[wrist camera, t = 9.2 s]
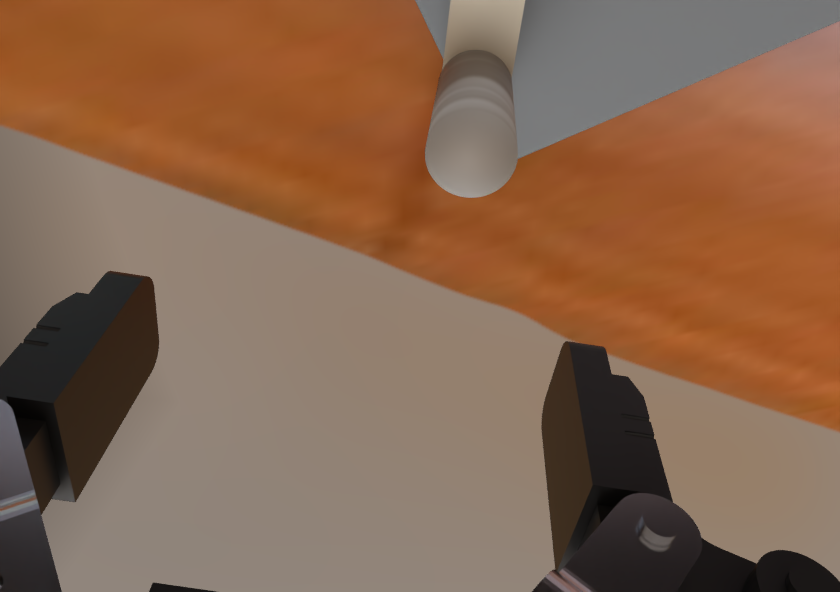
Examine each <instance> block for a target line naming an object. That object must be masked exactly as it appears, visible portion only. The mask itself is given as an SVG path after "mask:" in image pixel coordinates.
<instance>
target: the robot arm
mask: <svg viewBox="0 0 840 592" xmlns="http://www.w3.org/2000/svg"><path fill="white" fill-rule="evenodd" d="M158 349H159V334H158V324H157V314H156V303H155V293H154V285H153V281H152V279H151V278H150V277H147V276H140V275H133V274H127V273H120V272H113V271H109V272H107V273H106V274H105V275H104V276H103V277H102V278H101V280H100V281H99V282H98V283H97V284H96V286H95V287H94V288H93V289H92V291H91V292H90V293H89V294H84V293H75V294H73V295H71V296H70V297H68V298H66V299H65V300H63V301H61V302H59V303H58V304H56V305H54V306H52V307H51V308H50V310H49V311H48V312H47V313H46V314H45V316H44V317H43V318H42V319H41V320H40V321H39V322H38V324H37V327H36V328H33V329H32V331H31V332H30V333H29V334H28V335H27V336H26V337H25V339H24V343H20V344H19V346H18V347H17V348H16V349H15V350H14V351H13V352H12V354H11V355H10V356H9V357H8V358H7V360H6V361H5V362H4V363H3V364H2V365H1V366H0V592H62V591H61V587H60V583H59V579H58V575H57V572H56V568H55V565H54V561H53V557H52V553H51V549H50V546H49V542H48V538H47V535H46V531H45V527H44V523H43V520H42V516H41V515H42V513H43V511H44V510H45V508H46V507H47V505H48V503H49V502H50V500H51V499H55V500H63V501H69V502H76V500H77V499H78V497H79V495H80V494H81V492H82V490H83V488H84V487H85V485H86V483H87V481H88V480H89V478H90V476H91V475H92V473H93V471H94V470H95V468H96V466H97V465H98V463H99V461H100V459H101V458H102V456H103V454H104V453H105V451H106V449H107V447H108V446H109V444H110V442H111V441H112V439H113V437H114V435H115V434H116V432H117V430H118V429H119V427H120V425H121V423H122V421H123V420H124V418H125V417H126V415H127V413H128V411H129V409H130V408H131V406H132V405H133V403H134V401H135V399H136V398H137V396H138V394H139V393H140V391H141V389H142V387H143V386H144V384H145V382H146V381H147V379H148V377H149V376H150V374H151V372H152V370H153V368H154V366H155V363H156V359H157V355H158ZM542 439H543V448H544V459H545V469H546V478H547V490H548V500H549V510H550V520H551V530H552V540H553V551H554V561H555V570H552V571H551V572H549V573H548V574H547V575H546V576H545V577H544V578H543V579H542V581H541V582H540V583H539V584H538V585H537V586H536V588H535V589H534V590H533V591H532V592H840V582H839V581H838V579H837V578H836V577H835V576H834V575H833V574H832V573H830V571H828V570H827V569H826V568H825V567H823V566H822V565H820V564H819V563H817V562H816V561H814V560H812V559H810V558H808V557H807V556H804V555H802V554H799V553H795V552H792V551H785V550H776V551H771V552H769V553H767V554H765V555H764V556H763V557H761V559H760V560H759V562H758V563H757V564H756V563H754V562H752V561H749V560H747V559H744V558H742V557H740V556H737V555H735V554H733V553H730V552H728V551H725V550H723V549H720V548H718V547H716V546H714V545H712V544H710V543H709V542H707V541H706V540H704V539H703V538H701V535H700V531H699V529H698V527H697V525H696V524H695V522H694V521H693V519H692V518H691V517H690V516H689V515H688V514H687V513H686V512H685V511H684V510H683V509H682V508H680V507H679V506H678V505H676V504H675V503H673V501H672V497H671V493H670V490H669V487H668V483H667V479H666V476H665V473H664V468H663V465H662V461H661V458H660V454H659V450H658V447H657V443H656V440H655V439H654V432H653V429H652V425H651V422H649V414H648V411H647V407H646V403H645V400H644V397H643V395H642V394H641V393H640V392H639V391H638V389H637V388H636V386H635V385H634V384H633V383H632V381H631V380H630V379H629V378H628V377H626V376H619V375H613V374H611V370H610V365H609V361H608V357H607V352H606V349H605V348H604V347H601V346H595V345H588V344H581V343H575V342H568V341H566V342H565V343H564V344H563V346H562V348H561V351H560V354H559V357H558V360H557V364H556V367H555V370H554V373H553V376H552V379H551V382H550V385H549V389H548V392H547V395H546V398H545V402H544V406H543V413H542ZM149 592H215V591H208V590H201V589H194V588H187V587H180V586H173V585H166V584H159V583H153V584H152V586H151V588H150V591H149Z"/></svg>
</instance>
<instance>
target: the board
mask: <svg viewBox="0 0 840 592" xmlns="http://www.w3.org/2000/svg"><path fill="white" fill-rule="evenodd" d="M415 1H416V3H417V5H418V7H419V9H420V11H421V13H422V15H423V17H424V20H425V22H426V24H427V26H428V28H429V30H430V32H431V34H432V36H433V38H434V40H435V42H436V44H437V47H438V49H439V51H440V53H441V55H442V57H443V59H444V52H445V43H446V35H447V26H448V18H449V10H450V1H451V0H415ZM838 21H840V0H525V5H524V11H523V16H522V22H521V28H520V33H519V39H518V45H517V51H516V56H515V62H514V68H513V74H512V87H513V99H514V111H515V123H516V135H517V147H518V158H521V157H523V156H525V155H528V154H530V153H532V152H535V151H537V150H539V149H542V148H544V147H546V146H549V145H551V144H553V143H556V142H558V141H560V140H563V139H565V138H567V137H570V136H572V135H574V134H577V133H579V132H581V131H584V130H586V129H588V128H591V127H593V126H595V125H598V124H600V123H602V122H605V121H607V120H609V119H612V118H614V117H616V116H619V115H621V114H623V113H626V112H628V111H631V110H633V109H635V108H638V107H640V106H642V105H645V104H647V103H649V102H652V101H654V100H656V99H659V98H661V97H663V96H666V95H668V94H670V93H673V92H675V91H677V90H680V89H682V88H684V87H687V86H689V85H691V84H694V83H696V82H698V81H701V80H703V79H705V78H708V77H710V76H712V75H715V74H717V73H719V72H722V71H724V70H726V69H729V68H731V67H733V66H736V65H738V64H740V63H743V62H745V61H747V60H750V59H752V58H754V57H757V56H759V55H761V54H764V53H766V52H768V51H771V50H773V49H775V48H778V47H780V46H782V45H785V44H787V43H789V42H792V41H794V40H796V39H799V38H801V37H803V36H806V35H808V34H810V33H813V32H815V31H817V30H820V29H822V28H824V27H827V26H829V25H831V24H834V23H836V22H838Z"/></svg>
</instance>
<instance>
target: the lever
mask: <svg viewBox="0 0 840 592" xmlns="http://www.w3.org/2000/svg"><path fill="white" fill-rule="evenodd" d="M524 5H525V0H451V1H450V10H449V18H448V26H447V35H446V43H445V52H444V60H443V69H442V72H441V74H440V77H439V82H438V87H437V92H436V97H435V102H434V107H433V112H432V118H431V123H430V128H429V133H428V138H427V143H426V149H425V160H426V165H427V168H428V171H429V173H430V175H431V176H432V178H433V179H434V181H435V182H436V183H437V184H438V185H439V186H440V187H442V188H443V189H444V190H446V191H448V192H449V193H452V194H454V195H457V196H461V197H469V198H473V197H482V196H485V195H488V194H491V193H493V192H495V191H497V190H498V189H500V188H501V187H502V186H503V185H504V184H505V183H506V182H507V181H508V180H509V179H510V177H511V176H512V174H513V172H514V170H515V168H516V164H517V159H518V147H517V135H516V123H515V111H514V99H513V87H512V74H513V68H514V62H515V56H516V51H517V45H518V39H519V33H520V28H521V22H522V16H523V11H524Z"/></svg>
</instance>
